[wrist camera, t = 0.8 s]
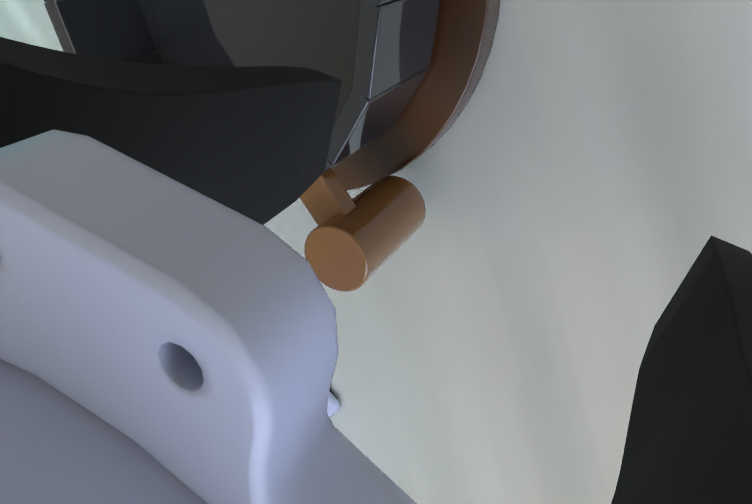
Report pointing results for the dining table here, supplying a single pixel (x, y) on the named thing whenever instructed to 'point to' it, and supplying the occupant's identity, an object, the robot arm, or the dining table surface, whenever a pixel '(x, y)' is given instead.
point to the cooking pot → (294, 49)
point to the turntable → (431, 93)
